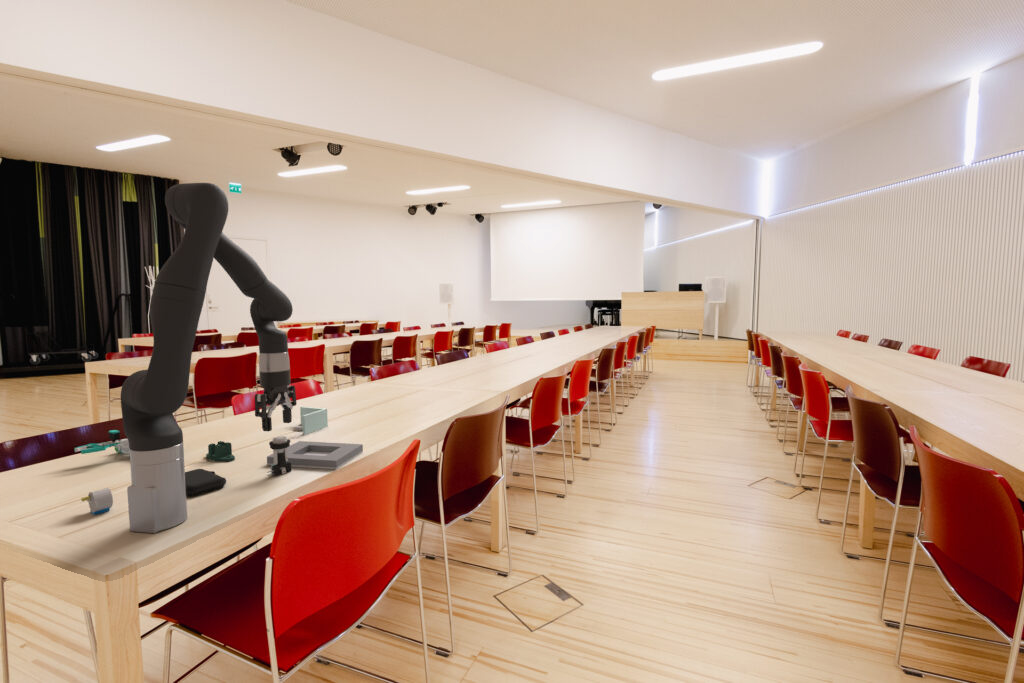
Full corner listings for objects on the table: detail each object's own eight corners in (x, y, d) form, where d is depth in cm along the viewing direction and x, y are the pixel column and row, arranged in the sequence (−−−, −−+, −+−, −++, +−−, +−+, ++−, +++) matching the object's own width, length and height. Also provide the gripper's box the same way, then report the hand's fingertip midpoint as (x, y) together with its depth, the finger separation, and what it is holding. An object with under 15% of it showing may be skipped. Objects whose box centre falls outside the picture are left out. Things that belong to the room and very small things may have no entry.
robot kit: (66, 465, 140) (63, 434, 139) (160, 443, 162) (158, 416, 161) (97, 476, 131) (95, 443, 131) (192, 451, 154) (190, 422, 153)
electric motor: (78, 512, 108) (76, 491, 108) (104, 505, 112) (103, 484, 112) (88, 520, 104) (86, 498, 104) (115, 512, 108) (114, 491, 108)
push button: (272, 479, 128) (271, 443, 128) (261, 475, 131) (260, 440, 130) (295, 472, 134) (294, 437, 133) (284, 468, 137) (283, 434, 136)
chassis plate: (336, 469, 136) (336, 460, 136) (267, 464, 140) (266, 456, 140) (362, 452, 152) (362, 444, 152) (299, 448, 156) (299, 441, 155)
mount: (239, 459, 146) (238, 443, 145) (225, 464, 141) (225, 447, 141) (215, 454, 150) (214, 439, 149) (201, 459, 146) (200, 443, 145)
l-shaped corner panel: (302, 425, 187) (301, 406, 186) (327, 428, 183) (327, 408, 183) (278, 433, 176) (277, 413, 175) (305, 436, 172) (304, 415, 171)
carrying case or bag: (234, 486, 124) (207, 475, 133) (233, 475, 124) (206, 464, 132) (188, 500, 116) (162, 487, 124) (187, 488, 115) (161, 476, 123)
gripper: (269, 373, 123) (273, 434, 124) (302, 365, 137) (305, 420, 138) (243, 372, 124) (247, 433, 125) (279, 364, 138) (281, 419, 139)
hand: (277, 426), depth 132 cm, fingers open, 8 cm apart
